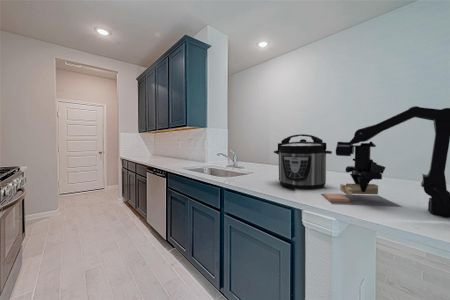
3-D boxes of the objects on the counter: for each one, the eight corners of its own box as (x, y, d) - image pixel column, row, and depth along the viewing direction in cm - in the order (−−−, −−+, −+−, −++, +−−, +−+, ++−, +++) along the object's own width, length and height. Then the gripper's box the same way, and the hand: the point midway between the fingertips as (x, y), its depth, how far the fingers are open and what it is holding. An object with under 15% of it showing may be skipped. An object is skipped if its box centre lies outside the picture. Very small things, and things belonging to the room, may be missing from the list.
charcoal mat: (402, 209, 81) (402, 206, 81) (332, 206, 85) (332, 204, 85) (378, 197, 97) (378, 195, 97) (320, 195, 101) (320, 193, 101)
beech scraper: (382, 196, 84) (382, 187, 84) (349, 195, 86) (349, 186, 86) (370, 190, 93) (370, 182, 93) (340, 190, 95) (340, 181, 95)
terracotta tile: (349, 199, 87) (330, 198, 88) (349, 202, 87) (329, 201, 88) (341, 193, 95) (323, 193, 96) (341, 197, 95) (323, 196, 96)
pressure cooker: (266, 183, 129) (266, 134, 127) (298, 178, 142) (298, 134, 140) (303, 195, 102) (304, 133, 100) (338, 188, 115) (339, 133, 113)
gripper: (397, 159, 78) (395, 197, 79) (370, 155, 97) (369, 186, 97) (366, 159, 80) (365, 196, 81) (345, 155, 98) (344, 185, 99)
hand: (361, 191), depth 89 cm, fingers closed on beech scraper, 3 cm apart
